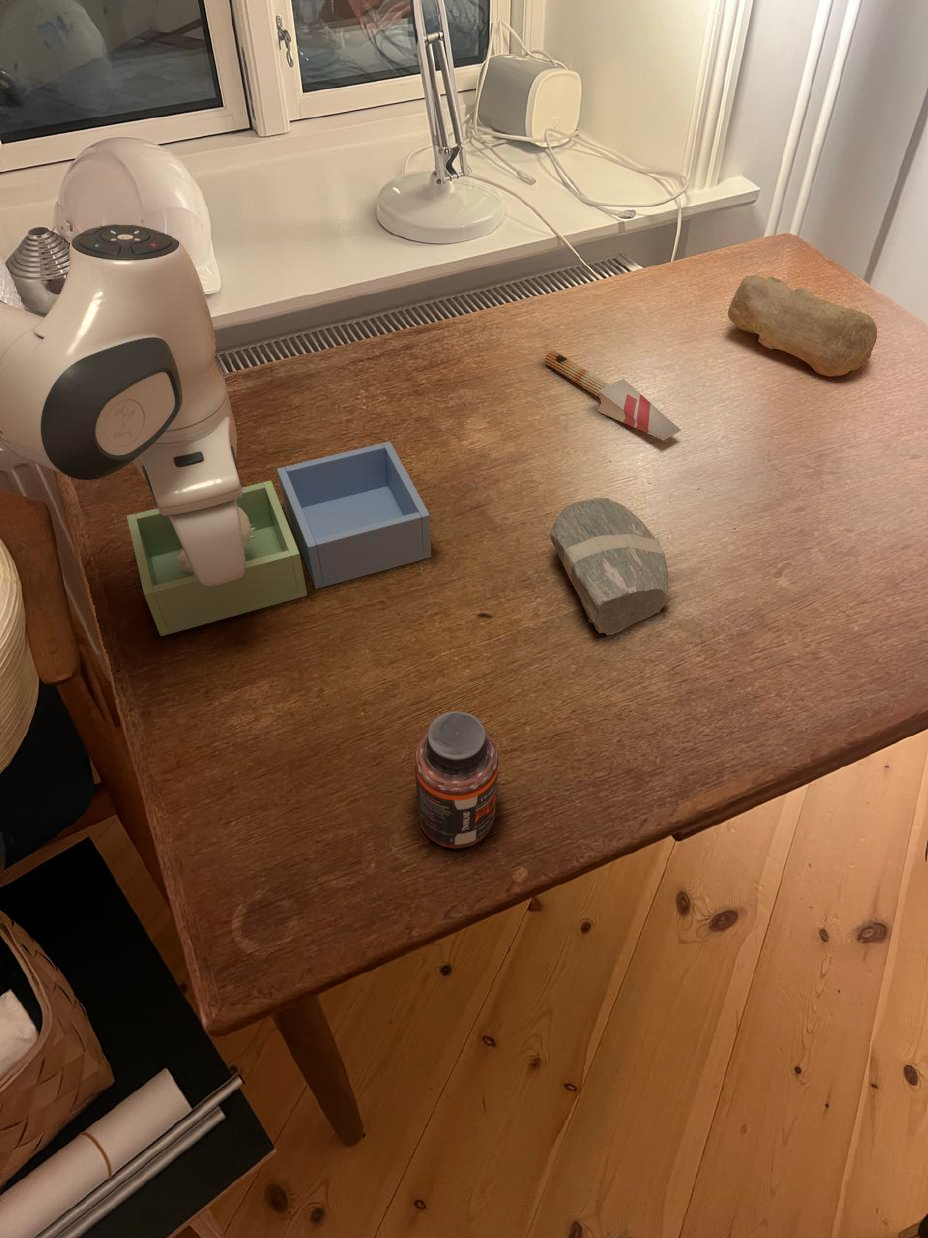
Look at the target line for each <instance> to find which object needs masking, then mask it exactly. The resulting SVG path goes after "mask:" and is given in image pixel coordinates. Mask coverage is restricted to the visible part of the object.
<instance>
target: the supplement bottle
mask: <svg viewBox="0 0 928 1238" xmlns="http://www.w3.org/2000/svg"><path fill="white" fill-rule="evenodd" d="M498 751H499V750H498V747H497V745H496V743H495V741H494V740H493V739H492V737H491V735H489V734H488V732H486V729H485V727H484V725H483V723H482V721H481V720H480V719H479V718H477V716H475V715H473V714H471V713H469V712H465V711H461V710H460V711H458V710H453V711H448V712H445V713H442V714H440V715H439V716H437V717H435V718H434V720H433V721H432V722H431V723H430V725H429V727H428V730H427V732H426V733H425V734H424V735H423V736H422V737H421V739H420V740H419V742H418V744H417V746H416V750H415V755H414V773H415V786H416V788H415V789H416V805H417V814H418V815H417V816H418V821H419V825H420V828H421V829H422V831H423V832H424V834H425V835H426V837H428V838H429V839H430V840H431V841H432V842H434V843H435V844H437V845H439V846H441V847H444V848H446V849H464V848H469V847H472V846H474V845H477V844H478V843H480V842H481V841H482V840H483V839H484V838H486V837H487V835H488V834H489V833H490V831H491V829H492V827H493V826H494V823H495V819H496V812H497V806H496V805H497V791H498V777H499V776H498V775H499V752H498Z"/></svg>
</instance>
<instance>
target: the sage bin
mask: <svg viewBox="0 0 928 1238" xmlns="http://www.w3.org/2000/svg"><path fill="white" fill-rule="evenodd" d="M241 488H242V497H240V498H238V499H236V500H237V505H238V507H240V508H241V509H242V510H243V511H244V513H245V514H246V515H247V516H248V519H249V521H250V524H253V525H252V526H251V527H250V528H255V527H257V528H256V529H255V530H254V531H253V532H252V533H251V536H254V537H257V538H254V539H250V540H249V543H248V546H249V547H247V549H246V551H245V552H244V555H245V559H246V562H245V574H244V576H243V578H242V579H240V580H238V581H234V582H231V583H228V584H225V585H220V586H216V587H211V588H206V587H204V586H202V585H201V584H200V582H199V581H198V579H197V578H196V576H195V575H190V574H187V573H186V572H184V571H182V570H181V568H180V566H179V563H178V560H177V558H176V557H175V556H178V555H180V553H181V551H182V550H183V548H182V546H181V543H180V541H179V539H178V537H177V534H176V532H175V530H174V528H173V525H172V523H171V521H170V518H169V516H162V515H161V514H160V512H159V509H158V507H157V508H153V509H149V510H145V511H141V512H137V513H133V514H129V515H126V519H127V523H128V528H129V533H130V537H131V541H132V542H131V543H132V546H133V551H134V555H135V561H136V564H137V568H138V573H139V577H140V581H141V586H142V591H143V595H144V598H145V601H146V603H147V606H148V609H149V611H150V613H151V616H152V618H153V621H154V623H155V626H156V629H157V631H158V634H159V636H160V637H164V636H168V635H171V634H174V633H178V632H181V631H185V630H188V629H193V628H196V627H200V626H203V625H207V624H210V623H214V622H217V621H221V620H225V619H229V618H232V617H235V616H239V615H243V614H245V613H249V612H253V611H257V610H261V609H264V608H269V607H271V606H275V605H278V604H282V603H286V602H289V601H293V600H296V599H301V598H304V597H307V596H308V591H307V586H306V580H305V576H304V570H303V565H302V559H301V553H300V552H299V551H300V550H299V549H298V548H299V547H298V546H297V542H296V540H295V539H294V536H293V533H292V531H291V530H292V529H291V527H290V524H289V523H288V520H287V518H286V517H287V516H286V514H285V511H284V510H283V507H282V505H281V502H280V500H279V498H278V495H277V492H276V488H275V486H274V484H273V481H272V480H267V481H263V482H259V483H255V484H251V485H246V486H243V487H241Z"/></svg>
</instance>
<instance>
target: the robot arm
mask: <svg viewBox="0 0 928 1238" xmlns="http://www.w3.org/2000/svg"><path fill="white" fill-rule="evenodd" d="M68 251H69V252H68V255H69V268H68V272H67V275H66V278H65V281H64V283H63V286H62V288H61V291H60V292H59V295H58V297H57V299H55V302H54V304H53V305H52V307H51V308H50V310H49V311H48V313H47V314H46V315H45V316H44V317H43V316H40V315H38V314H36V313H34V312H33V313H32V312H30V311H27V310H25V309H22V308H20V307H16V306H14V305H10V304H8V303H6V302H5V301H3V300H1V299H0V449H1V450H3V451H5V452H8V453H10V454H12V455H14V456H16V457H19V458H21V459H24V460H27V461H29V462H32V463H34V464H37V465H39V466H42V467H44V468H46V469H48V470H51V471H53V472H56V473H59V474H62V475H65V476H66V477H69V478H72V479H74V480H75V479H76V480H80V481H94V480H98V479H103V478H106V477H108V476H110V475H111V476H112V474H115V473H116V472H118V471H120V470H122V469H123V468H125V467H127V466H128V465H129V464H131V463H132V464H133V465H134V467H136V469H137V471H138V473H139V474H140V475H141V476H142V478H143V479H144V480H145V482H146V484H147V486H148V488H149V490H150V493H151V494H152V498H153V500H154V503H155V506H157V508H158V509H159V512H160V514H161V515H162V516H169V518H170V521H171V523H172V525H173V528H174V530H175V532H176V534H177V537H178V539H179V541H180V543H181V546H182V548H183V550H184V552H185V554H186V557H187V559H188V561H189V563H190V565H191V567H192V569H193V572H194V574H195V576H196V578H197V579H198V581H199V582H200V584H201V585H202V586H204V587H206V588H211V587H216V586H220V585H225V584H228V583H231V582H234V581H238V580H240V579H242V578H243V576H244V574H245V557H244V548H243V540H242V532H241V525H240V518H239V511H238V505H237V500H236V499H238V498H240V497H242V488H243V487H242V481H241V478H240V473H239V470H238V462H237V453H238V451H237V450H238V449H237V448H238V445H237V442H238V431H237V426H236V422H235V418H234V414H233V409H232V404H231V400H230V396H229V390H228V387H227V383H226V380H225V377H224V376H223V373H222V372H221V371H220V369H219V367H218V365H217V361H216V351H217V339H216V333H215V329H214V325H213V320H212V315H211V311H210V308H209V304H208V300H207V297H206V293H205V290H204V286H203V284H202V280H201V279H200V275H199V273H198V270H197V267H196V265H195V264H194V262H193V260H192V258H191V256H190V254H189V252H188V250H187V249H186V248H185V246H184V245H183V244H182V243H181V241H180V240H178V239H176V238H175V237H173V236H172V235H169V234H167V233H165V232H162V231H160V230H157V229H153V228H150V227H146V226H142V225H136V224H116V223H115V224H107V225H100V226H95V227H91V228H88V229H86V230H83V232H80V233H79V234H77V235H76V236H74V237H72V239H71V241H70V243H69V249H68Z"/></svg>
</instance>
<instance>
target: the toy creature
mask: <svg viewBox="0 0 928 1238" xmlns="http://www.w3.org/2000/svg"><path fill="white" fill-rule="evenodd" d="M238 511H239V518H240V525H241V532H242V540H243V548H244V552H245V551H246V549H247V547H249V546H248V543H249V540H250V539H254V538H257V537H254V536H251V533H252V532H253V531H254V530H255V529H256V528H257V527H255V528H250V527H251V526H252V525H253V524H250V521H249V519H248V516H247V515H246V514H245V513H244V511H243V510H242V509H241V508H240V507H238ZM175 557H176V558H177V560H178V563H179V566H180V568H181V570H182V571H184V572H186V573H187V574H190V575H195V574H194V572H193V569H192V567H191V565H190V563H189V561H188V559H187V557H186V554H185V552H184V550H182V551H181V553H180V555H178V556H175ZM244 557H245V555H244ZM245 562H246V559H245Z"/></svg>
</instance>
